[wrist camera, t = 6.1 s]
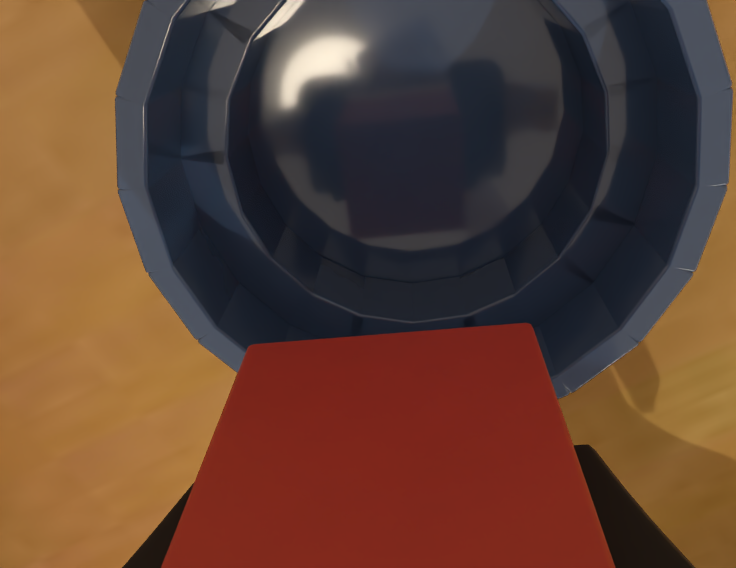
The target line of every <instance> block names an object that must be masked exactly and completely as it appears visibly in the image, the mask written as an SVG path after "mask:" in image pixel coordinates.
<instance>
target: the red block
mask: <svg viewBox="0 0 736 568" xmlns="http://www.w3.org/2000/svg"><path fill="white" fill-rule="evenodd" d="M161 568H615V565H614V562H613V559H612V556H611V553H610V550H609V547H608V544H607V542H606V539H605V536H604V533H603V530H602V527H601V524H600V521H599V518H598V515H597V512H596V510H595V507H594V504H593V501H592V498H591V495H590V492H589V489H588V486H587V483H586V480H585V478H584V475H583V472H582V469H581V466H580V463H579V460H578V457H577V454H576V451H575V448H574V446H573V443H572V440H571V437H570V434H569V431H568V428H567V425H566V422H565V419H564V416H563V414H562V411H561V408H560V405H559V402H558V399H557V396H556V393H555V390H554V387H553V384H552V382H551V379H550V376H549V373H548V370H547V367H546V364H545V361H544V358H543V355H542V352H541V350H540V347H539V344H538V341H537V338H536V335H535V332H534V329H533V327H532V325H531V324H529V323H516V324H503V325H490V326H478V327H465V328H452V329H440V330H427V331H414V332H402V333H389V334H376V335H364V336H351V337H338V338H326V339H313V340H300V341H288V342H275V343H262V344H253V345H250V346H249V347H248V348H247V351H246V353H245V356H244V358H243V361H242V363H241V366H240V369H239V371H238V374H237V376H236V379H235V381H234V384H233V386H232V389H231V391H230V394H229V396H228V399H227V401H226V404H225V407H224V409H223V412H222V414H221V417H220V419H219V422H218V424H217V427H216V429H215V432H214V434H213V437H212V440H211V442H210V445H209V447H208V450H207V452H206V455H205V457H204V460H203V462H202V465H201V467H200V470H199V472H198V475H197V478H196V480H195V483H194V485H193V488H192V490H191V493H190V495H189V498H188V500H187V503H186V505H185V508H184V511H183V513H182V516H181V518H180V521H179V523H178V526H177V528H176V531H175V533H174V536H173V538H172V541H171V543H170V546H169V549H168V551H167V554H166V556H165V559H164V561H163V564H162V566H161Z"/></svg>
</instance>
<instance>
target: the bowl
mask: <svg viewBox="0 0 736 568" xmlns="http://www.w3.org/2000/svg"><path fill="white" fill-rule="evenodd" d="M731 86H732V80H731V77H730V74H729V70H728V67H727V64H726V61H725V57H724V54H723V51H722V48H721V44H720V41H719V38H718V35H717V31H716V28H715V25H714V22H713V18H712V15H711V12H710V8H709V5H708V2H707V0H144V2H143V4H142V7H141V10H140V14H139V17H138V20H137V23H136V27H135V30H134V33H133V37H132V40H131V43H130V46H129V50H128V53H127V56H126V59H125V63H124V66H123V69H122V73H121V76H120V79H119V82H118V86H117V89H116V95H117V96H116V98H115V116H116V151H117V185H118V188H119V189H118V194H119V197H120V199H121V202H122V205H123V208H124V211H125V214H126V217H127V219H128V222H129V225H130V228H131V231H132V234H133V236H134V239H135V242H136V245H137V248H138V251H139V253H140V256H141V259H142V262H143V265H144V268H145V270H146V272H148V274H149V277H150V278H151V279H152V281H153V282H154V283H155V285H156V286H157V287H158V289H159V290H160V292H161V293H162V294H163V296H164V297H165V298H166V300H167V301H168V303H169V304H170V305H171V307H172V308H173V309H174V311H175V312H176V313H177V315H178V316H179V318H180V319H181V320H182V322H183V323H184V324H185V326H186V327H187V329H188V330H189V331H190V333H191V334H192V335H193V337H194V338H195V339H196V340H197V339H198V342H199V343H200V344H201V345H202V346H204V347H205V348H206V349H207V350H209V351H210V352H211V353H213V354H214V355H215V356H216V357H218V358H219V359H220V360H222V361H223V362H224V363H225V364H227V365H228V366H229V367H231V368H232V369H233V370H234V371H236V372H237V373H238V371H239V369H240V366H241V363H242V361H243V358H244V356H245V353H246V351H247V348H248V347H249V346H250V345H253V344H262V343H275V342H288V341H300V340H313V339H326V338H338V337H351V336H364V335H376V334H389V333H402V332H414V331H427V330H440V329H452V328H465V327H478V326H490V325H503V324H516V323H529V324H531V325H532V327H533V329H534V332H535V335H536V338H537V341H538V344H539V347H540V350H541V352H542V355H543V358H544V361H545V364H546V367H547V370H548V373H549V376H550V379H551V382H552V384H553V387H554V390H555V393H556V396H557V399H559V398H562V397H565V396H567V395H569V394H570V393H573V392H575V391H576V390H578V389H579V388H580V387H582V386H583V385H584V384H586V383H587V382H589V381H590V380H591V379H593V378H594V377H595V376H597V375H598V374H599V373H601V372H602V371H604V370H605V369H606V368H608V367H609V366H610V365H612V364H613V363H615V362H616V361H617V360H619V359H620V358H621V357H623V356H624V355H625V354H627V353H628V352H630V351H631V350H632V349H634V348H635V347H636V346H638V345H639V342H641V341H642V340H643V339H644V338H645V337H646V335H647V334H648V333H649V331H650V330H651V329H652V328H653V326H654V325H655V324H656V323H657V321H658V320H659V319H660V317H661V316H662V315H663V314H664V312H665V311H666V310H667V308H668V307H669V306H670V305H671V303H672V302H673V301H674V299H675V298H676V297H677V296H678V294H679V293H680V292H681V291H682V289H683V288H684V287H685V285H686V284H687V283H688V282H689V280H690V279H691V278H692V276H693V272H695V271H696V269H697V267H698V264H699V261H700V259H701V256H702V254H703V251H704V248H705V246H706V243H707V241H708V238H709V235H710V233H711V230H712V228H713V225H714V222H715V220H716V217H717V215H718V212H719V209H720V207H721V204H722V202H723V199H724V196H725V194H726V191H727V184H728V183H729V168H730V146H731V125H732V104H733V89H732V87H731Z"/></svg>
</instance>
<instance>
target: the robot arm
mask: <svg viewBox="0 0 736 568" xmlns="http://www.w3.org/2000/svg"><path fill="white" fill-rule="evenodd" d="M573 446H574V448H575V451H576V454H577V457H578V460H579V463H580V466H581V469H582V472H583V475H584V478H585V480H586V483H587V486H588V489H589V492H590V495H591V498H592V501H593V504H594V507H595V510H596V512H597V515H598V518H599V521H600V524H601V527H602V530H603V533H604V536H605V539H606V542H607V544H608V547H609V550H610V553H611V556H612V559H613V562H614V565H615V568H695V567H694V566H693V565H692V564H691V563H690V561H689V560H688V559H687V558H686V557H685V556H684V555H683V554H682V553H681V552H680V551H679V549H678V548H677V547H676V546H675V545H674V544H673V543H672V542H671V541H670V540H669V539H668V538H667V536H666V535H665V534H664V533H663V532H662V531H661V530H660V529H659V528H658V526H657V525H656V524H655V523H654V522H653V521H652V520H651V518H650V517H649V516H648V515H647V514H646V513H645V512H644V510H643V509H642V508H641V507H640V506H639V504H638V503H637V502H636V501H635V500H634V498H633V497H632V496H631V495H630V494H629V493H628V491H627V490H626V489H625V488H624V486H623V485H622V484H621V483H620V481H619V480H618V479H617V478H616V476H615V475H614V474H613V473H612V471H611V470H610V469H609V468H608V466H607V465H606V464H605V462H604V461H603V460H602V458H601V457H600V456H599V454H598V453H597V452H596V451H595V450H594V449H593V448H592V447H591V446H589V445H573ZM194 483H195V482H194ZM194 483H193V484H192V486H191V487H190V488H189V489H188V490H187V492H186V493H185V494H184V495H183V496H182V498H181V499H180V500H179V501H178V502H177V504H176V505H175V506H174V507H173V508H172V510H171V511H170V512H169V513H168V515H167V516H166V517H165V518H164V519H163V521H162V522H161V523H160V524H159V525H158V527H157V528H156V529H155V530H154V531H153V533H152V534H151V535H150V536H149V537H148V539H147V540H146V541H145V542H144V543H143V544H142V546H141V547H140V548H139V549H138V550H137V551H136V552H135V554H134V555H133V556H132V557H131V558H130V559H129V561H128V562H127V563H126V564H125V565H124V566H123V567H122V568H161V566H162V564H163V561H164V559H165V556H166V554H167V551H168V549H169V546H170V543H171V541H172V538H173V536H174V533H175V531H176V528H177V526H178V523H179V521H180V518H181V516H182V513H183V511H184V508H185V505H186V503H187V500H188V498H189V495H190V493H191V490H192V488H193V485H194Z"/></svg>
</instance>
